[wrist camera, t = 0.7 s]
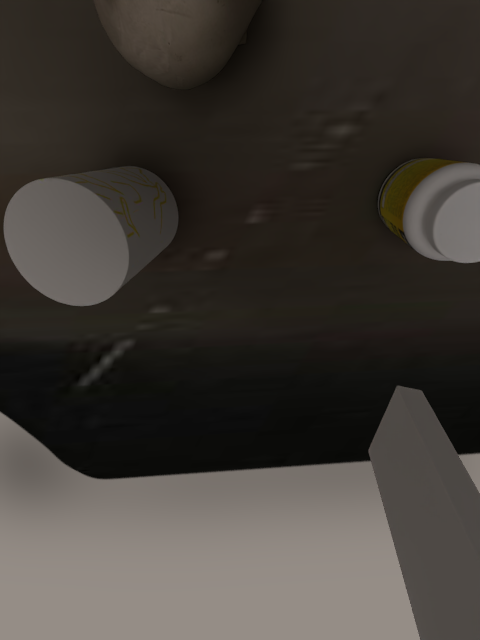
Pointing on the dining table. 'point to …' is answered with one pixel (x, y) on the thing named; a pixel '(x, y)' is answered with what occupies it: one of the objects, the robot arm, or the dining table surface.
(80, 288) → the white cylinder
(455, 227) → the pill bottle
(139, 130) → the dining table surface
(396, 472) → the robot arm
